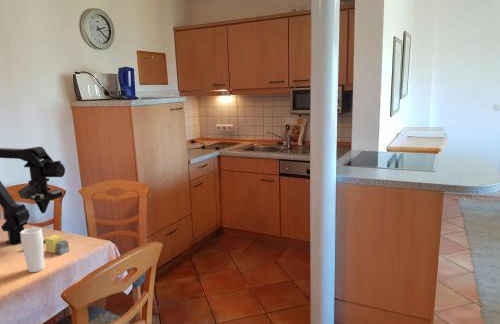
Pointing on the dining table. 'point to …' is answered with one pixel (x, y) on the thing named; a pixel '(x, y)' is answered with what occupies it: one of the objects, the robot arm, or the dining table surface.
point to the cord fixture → (61, 247)
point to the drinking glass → (33, 248)
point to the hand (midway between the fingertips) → (43, 212)
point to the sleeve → (52, 243)
